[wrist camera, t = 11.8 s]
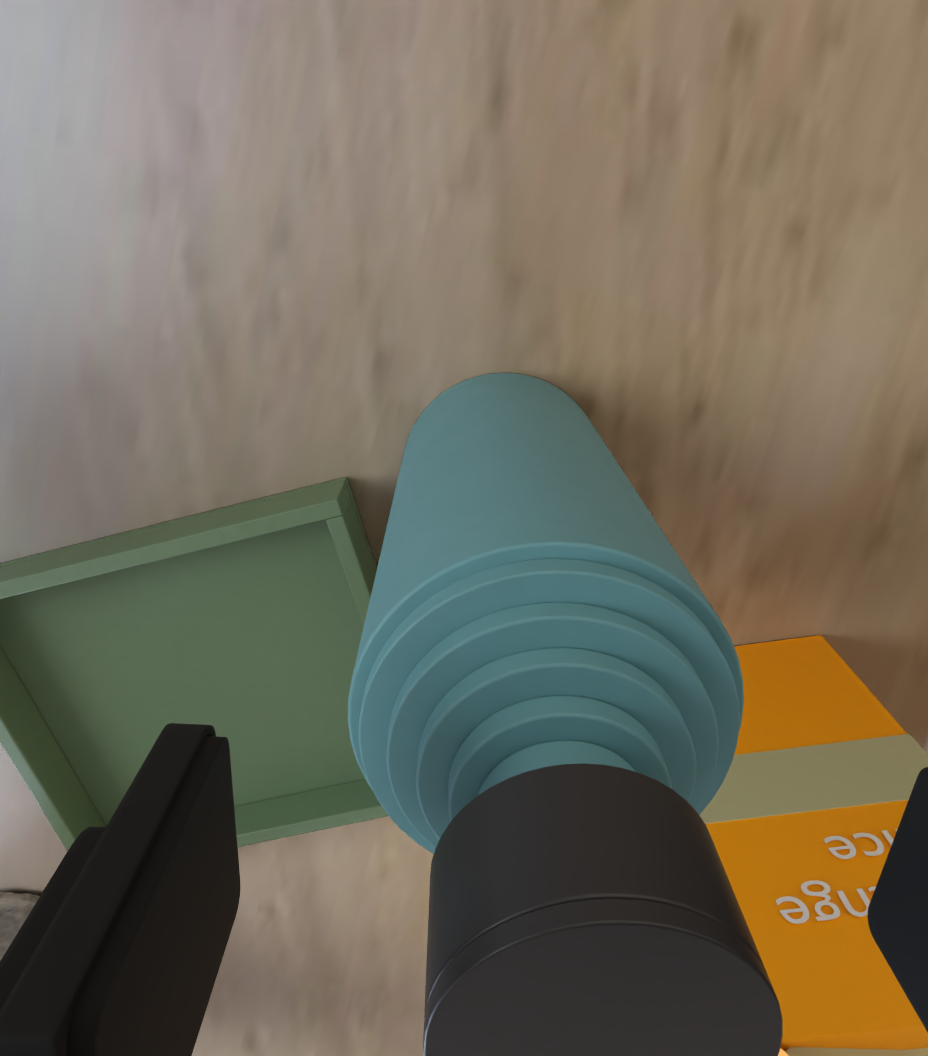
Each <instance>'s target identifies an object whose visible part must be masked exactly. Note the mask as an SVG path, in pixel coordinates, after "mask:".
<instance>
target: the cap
mask: <svg viewBox="0 0 928 1056" xmlns="http://www.w3.org/2000/svg"><path fill="white" fill-rule="evenodd" d="M424 1017H425V1021H424V1040H423V1049H424V1056H778V1054H779V1052H780V1047H781V1042H782V1037H783V1018H782V1013H781V1009H780V1004H779V1001H778V998H777V996H776V994H775V991H774V989H773V986H772V984H771V981H770V979H769V977H768V974H767V972H766V969H765V967H764V964H763V962H762V959H761V957H760V955H759V952H758V950H757V947H756V945H755V942H754V940H753V938H752V935H751V933H750V930H749V928H748V925H747V923H746V920H745V918H744V916H743V913H742V911H741V908H740V906H739V903H738V901H737V899H736V896H735V894H734V891H733V889H732V886H731V884H730V881H729V879H728V877H727V874H726V872H725V869H724V867H723V864H722V862H721V860H720V857H719V855H718V852H717V850H716V847H715V845H714V842H713V840H712V838H711V835H710V833H709V831H708V829H707V826H706V824H705V823H704V821H703V820H702V818H701V817H700V815H699V814H698V812H697V811H696V810H695V809H694V808H693V807H692V806H691V805H690V804H689V803H688V802H687V801H686V800H685V799H684V798H683V797H681V796H680V795H679V794H678V793H676V792H675V791H674V790H673V789H671V788H669V787H668V786H666V785H664V784H663V783H661V782H659V781H658V780H655V779H653V778H651V777H648V776H646V775H644V774H641V773H638V772H635V771H631V770H628V769H625V768H620V767H614V766H609V765H601V764H586V763H581V764H562V765H555V766H548V767H543V768H539V769H535V770H531V771H527V772H524V773H521V774H518V775H516V776H513V777H510V778H508V779H506V780H504V781H502V782H500V783H498V784H496V785H494V786H492V787H490V788H488V789H487V790H485V791H484V792H482V793H481V794H479V795H478V796H476V797H475V798H474V799H473V800H471V801H470V802H469V803H468V804H467V805H466V806H464V807H463V808H462V809H461V810H460V811H459V813H458V814H457V815H456V816H455V817H454V818H453V819H452V820H451V822H450V823H449V825H448V826H447V828H446V829H445V831H444V832H443V834H442V836H441V838H440V840H439V842H438V844H437V846H436V849H435V852H434V856H433V859H432V864H431V874H430V896H429V920H428V944H427V968H426V992H425V1016H424Z"/></svg>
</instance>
